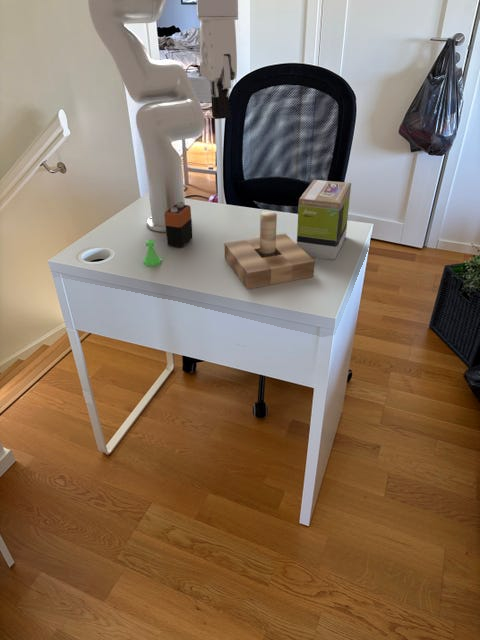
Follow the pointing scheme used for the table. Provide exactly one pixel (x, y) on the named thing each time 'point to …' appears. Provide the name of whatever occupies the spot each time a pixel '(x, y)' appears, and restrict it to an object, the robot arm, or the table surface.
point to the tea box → (323, 218)
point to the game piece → (151, 255)
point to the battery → (178, 225)
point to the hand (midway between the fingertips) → (220, 117)
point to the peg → (267, 234)
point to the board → (268, 262)
